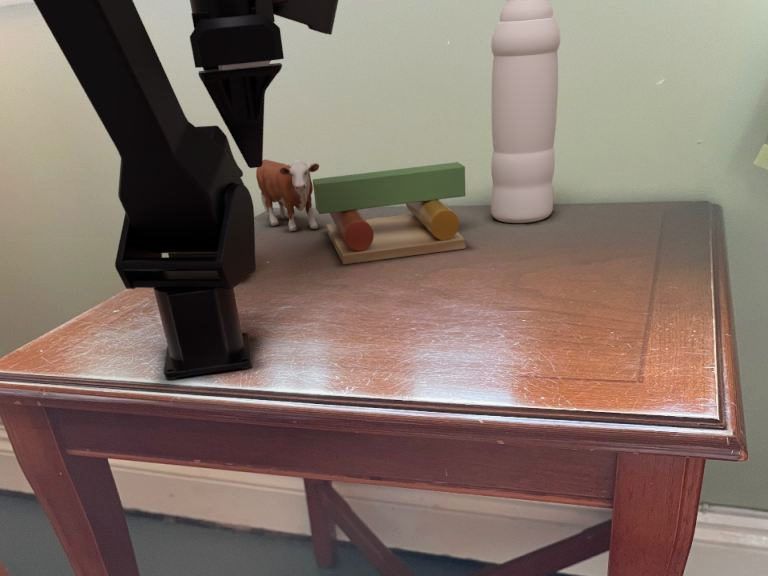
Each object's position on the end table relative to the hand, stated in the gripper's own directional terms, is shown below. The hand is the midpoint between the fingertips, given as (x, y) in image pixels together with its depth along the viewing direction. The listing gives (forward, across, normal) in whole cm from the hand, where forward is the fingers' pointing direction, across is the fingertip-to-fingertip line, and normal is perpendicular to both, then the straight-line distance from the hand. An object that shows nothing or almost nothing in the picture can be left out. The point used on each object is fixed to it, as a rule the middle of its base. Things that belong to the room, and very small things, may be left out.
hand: (253, 158), depth 64 cm
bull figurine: (+12, +27, -4) cm, 30 cm away
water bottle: (+12, +18, -30) cm, 37 cm away
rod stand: (+12, +15, -14) cm, 24 cm away
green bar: (+8, +15, -14) cm, 22 cm away
